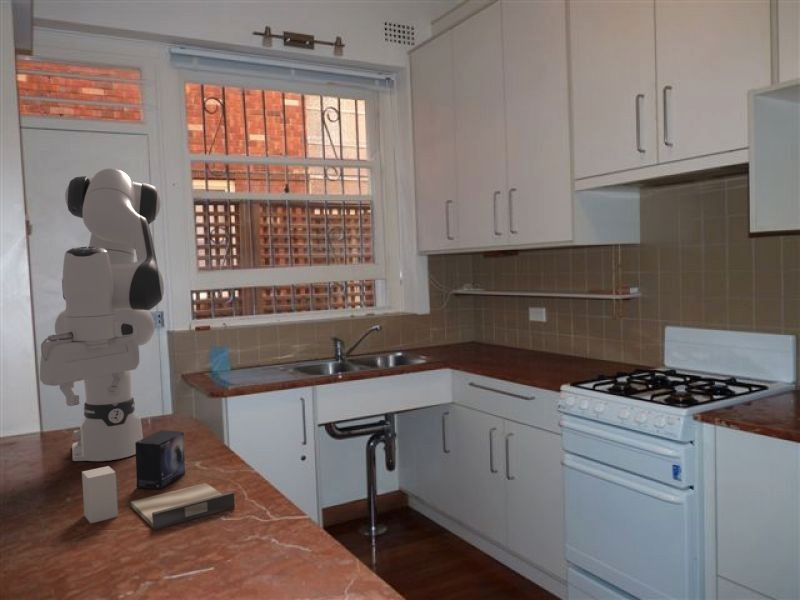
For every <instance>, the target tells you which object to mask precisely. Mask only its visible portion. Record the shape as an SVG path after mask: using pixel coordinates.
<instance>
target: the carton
mask: <svg viewBox="0 0 800 600" xmlns="http://www.w3.org/2000/svg"><path fill="white" fill-rule="evenodd" d="M81 480H82V495H83V511H84V514H83V515H84V517H85V518H86V520H87V521H88V522H89V523H90V524H94V523H98V522H101V521H106V520H109V519H113V518H116V517H117V518H118V515H119V512H118V511H119V509H118V507H119V500H118V484H117V483H118V482H117V480H118V479H117V475H116V471H115V470H114V469H112V468H111V467H110V466H109V465H107V466H103V467H98V468H97V467H96V468H93V469H92V468H91V469H89V470H84V471H83V470H82V471H81Z"/></svg>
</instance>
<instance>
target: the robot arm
mask: <svg viewBox="0 0 800 600" xmlns="http://www.w3.org/2000/svg"><path fill="white" fill-rule="evenodd" d="M64 193H65V194H64V199H65V203H66V206H67V210H68V212H69V213H70V214H71V215H72V216H73V217H77V218H80V219H82V220H83V224H84V226H85V227H86V228H87V230H88V231H89V232H90V233H91V235H90V238H89V244H88V246H81V247H79V246H78V247H73V248H70V249H68V250H67V251H65V253H64V258H63V266H62V267H63V269H62V279H61V280H62V281H61V284H62V285H61V286H62V298H63V300H64V301H65V310H62V311H61V312H60V313H59V314H58V316H57V317H56V320H55V323H54V332H55V334H50V335H48V336H47V338H45V339H44V340H43V341H42V343H40V352H41V353H40V354H41V356H40V365H39V380H40V382H41V383H42V384H43V385H44V386H52V387H53V386H54V387H56V386H59V390H60V391H61V392H62V394H63V395H64V397H65V401H66V402H65V404H66V405H67V406H68V407H73V406H78V405H79V404H80V395H79V394H77V395H76V394H75V393H74V391H73V390H72V389H74V387H75V385H74V383H77V382H81V381H83V383H84V392H85V394H84V395H85V402H84V405H83V416H84V418H83V420H82V421H81V424H80V429H76V430H73V440H79V439H80V441H76V442H73V443H72V446H71V454H72V455H71V456H72V461H73V462H85V461H88V462H106V461H113V460H120V459H124V458H128V457H131V456H134V455H136V449H135V442H137V441H139V440H141V439H144V435H143V428H142V427H143V426H142V421H141V420H142V419H141V417H139V415H137V414H136V413H135V410H136V408H135V405H136V404H135V400H134V399H135V398H134V397H133V393H132V392H133V391H132V376H131V375H132V374H131V373H132V372H131V371H133V370H137V369H138V366H139V365H140V346H144V345H147V344H148V343H149V342H150V341H151V339H152V337H153V336H154V333H155V328H156V326H155V325H156V324H155V320H154V317H153V315H152V313H151V312H150V311H151V310H152V309H154V308H155V307H156V306H157V305H159V304H160V303H161V302H162V300H163V298H164V293H165V284H164V279H163V278H164V277H163V275H162V273H161V271H160V269H159V266H158V263H157V262H158V261H157V260H158V259H157V255H156V250H155V245H154V240H153V235H152V233H151V228H150V224H151V223H153V222H154V221H155V220H156V218H157V216H158V215H159V213H160V209H161V198H160V195H159V193H158V189H157V188H156V186H154V185H152V184H148V183H146V182H142V183H140V182H137V181H132V179H131V177H130V176H129V175H128V174H127V173H125V172H124V171H123V170H120V169H117V168H104V169H101V170H99V171H98V172H96V173H95V175H94V176H93V177H89V176H87V175H86V176H85V175H83V176H76V177H74V178H72V179H71V180H70V181H69V183H68V185H67V187H66V190H65V192H64ZM135 256H136V259H137V260H136V261H134V260H135Z"/></svg>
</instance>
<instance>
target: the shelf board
mask: <svg viewBox="0 0 800 600" xmlns="http://www.w3.org/2000/svg"><path fill="white" fill-rule="evenodd" d="M130 507H131V508H132V510H134V511H135V512H136V513H137V514H138V515H139V516H140V517H141V518H142V519H143V520H144V521H145V522H146V523H147V524H148V525H149V526H150V527H151V528H152V530H159V529H162V528H166V527H169V526H173V525H177V524H181V523H184V522H188V521H191V520H194V518H195V519H198V518H201V517H205V516H208V515H211V514H216V513H219V511H220V512H223V511H227V510H230V509H234V508H235V492H233V491H229V492H225V493H221V492H220V491H218V490H217V489H216V488H214V487H213V486H211V485H210V484H208V483H207V482H204V483H200V484H196V485H192V486H189V487H184V488H180V489H179V488H178V489H177V490H172V491H167V492H164V493H160V494H156V495H152V496H148V497H144V498H140V499H135V500H132V501H130ZM187 520H188V521H187Z"/></svg>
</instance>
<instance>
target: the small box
mask: <svg viewBox="0 0 800 600" xmlns="http://www.w3.org/2000/svg"><path fill="white" fill-rule="evenodd" d="M184 433H185V432H184V431H178V430H177V431H175V430H164V429H160V430H159V431H156V432H154V433H152V434H151V435H148V436H146V437H143V439H141V440H139V441H137V442H135V449H136V454H135V471H136V474H135V475H136V488H139V489H141V488H142V489H154V490H162V489H163V488H165V487H166V486H168V485H169V484H172V483H173V482H175V481H176V480H177V479H179V478H181V477H182V476H184V475H186V464H185V435H184Z"/></svg>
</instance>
